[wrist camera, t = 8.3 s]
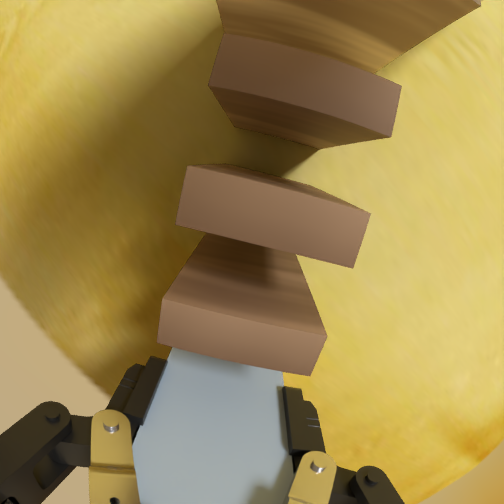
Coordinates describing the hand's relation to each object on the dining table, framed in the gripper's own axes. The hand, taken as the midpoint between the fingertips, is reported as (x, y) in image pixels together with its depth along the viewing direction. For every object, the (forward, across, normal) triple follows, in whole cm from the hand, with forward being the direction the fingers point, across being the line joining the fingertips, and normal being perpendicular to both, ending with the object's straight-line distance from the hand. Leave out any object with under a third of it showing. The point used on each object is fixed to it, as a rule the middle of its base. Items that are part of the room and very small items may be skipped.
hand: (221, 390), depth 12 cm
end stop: (+8, 0, -18) cm, 20 cm away
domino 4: (+2, 0, 0) cm, 2 cm away
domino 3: (+8, 0, -4) cm, 9 cm away
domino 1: (+8, 0, -12) cm, 14 cm away
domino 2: (+8, 0, -8) cm, 11 cm away
